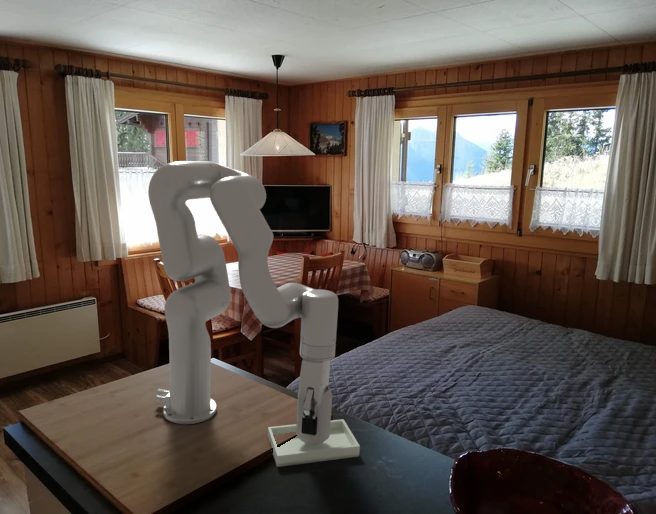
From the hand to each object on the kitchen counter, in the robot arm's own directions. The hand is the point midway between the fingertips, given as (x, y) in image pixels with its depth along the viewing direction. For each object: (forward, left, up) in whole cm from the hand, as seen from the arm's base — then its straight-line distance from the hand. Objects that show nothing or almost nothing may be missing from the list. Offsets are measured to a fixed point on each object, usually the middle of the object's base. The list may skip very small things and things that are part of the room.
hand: (313, 423), depth 111 cm
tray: (0, 0, -6) cm, 6 cm away
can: (0, 0, -4) cm, 4 cm away
